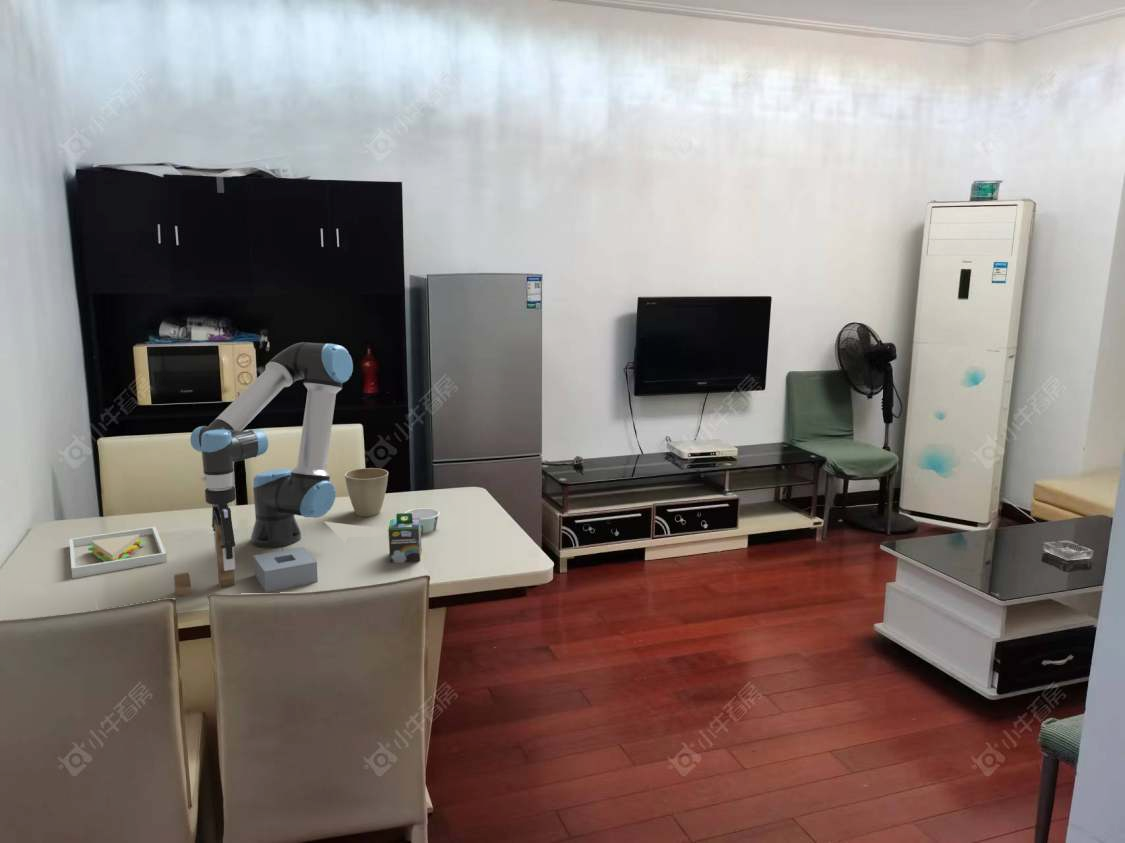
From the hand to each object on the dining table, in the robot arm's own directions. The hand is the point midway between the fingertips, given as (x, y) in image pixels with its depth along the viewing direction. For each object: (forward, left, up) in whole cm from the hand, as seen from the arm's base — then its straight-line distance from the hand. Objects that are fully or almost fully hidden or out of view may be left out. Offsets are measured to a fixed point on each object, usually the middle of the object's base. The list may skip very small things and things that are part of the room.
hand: (225, 561), depth 219 cm
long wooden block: (0, 0, -7) cm, 7 cm away
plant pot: (-40, +54, -7) cm, 68 cm away
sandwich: (-38, -26, -7) cm, 46 cm away
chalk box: (+6, +50, -7) cm, 51 cm away
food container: (-15, +64, -7) cm, 66 cm away
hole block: (+4, +15, -7) cm, 17 cm away
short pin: (0, -11, -7) cm, 13 cm away
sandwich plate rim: (-41, -24, -7) cm, 48 cm away
